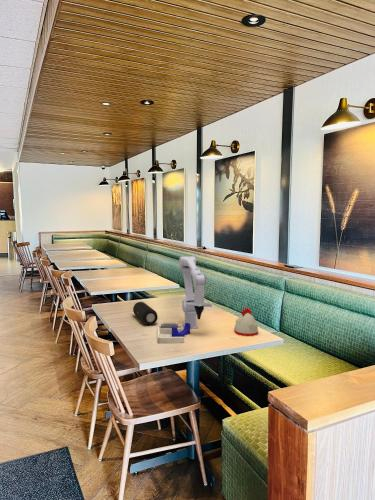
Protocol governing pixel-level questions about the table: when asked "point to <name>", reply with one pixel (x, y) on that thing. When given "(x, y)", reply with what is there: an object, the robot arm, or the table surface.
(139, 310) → the portable speaker
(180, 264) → the robot arm
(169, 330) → the beige tray
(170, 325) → the seated twin plug
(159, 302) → the table surface
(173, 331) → the cable clip
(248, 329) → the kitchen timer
